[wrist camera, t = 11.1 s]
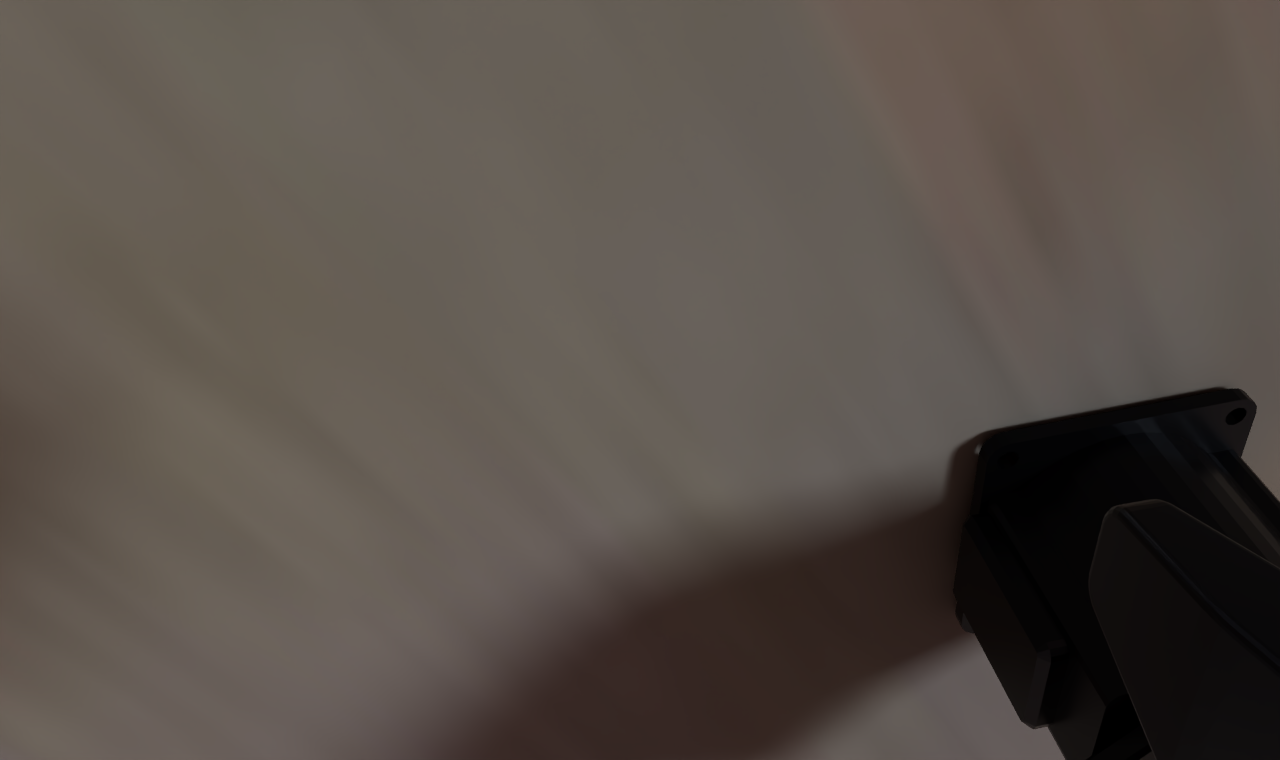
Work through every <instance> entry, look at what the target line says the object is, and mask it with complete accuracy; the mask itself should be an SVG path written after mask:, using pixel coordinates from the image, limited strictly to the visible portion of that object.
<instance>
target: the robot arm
mask: <svg viewBox="0 0 1280 760" xmlns="http://www.w3.org/2000/svg"><path fill="white" fill-rule="evenodd" d="M1256 409H1257V406H1256V404H1255V402H1254V401H1253V400H1252V399H1251V398H1250V397H1249V396H1248V395H1247V394H1246V393H1245V392H1244V391H1243V390H1241V389H1227V390H1222V391H1217V392H1212V393H1207V394H1201V395H1196V396H1191V397H1186V398H1180V399H1175V400H1170V401H1165V402H1159V403H1154V404H1149V405H1144V406H1138V407H1133V408H1128V409H1123V410H1117V411H1112V412H1107V413H1102V414H1096V415H1091V416H1086V417H1081V418H1075V419H1070V420H1065V421H1060V422H1054V423H1049V424H1044V425H1039V426H1033V427H1028V428H1023V429H1018V430H1012V431H1007V432H1002V433H999V434H996V435H994V436H993V437H991V438H990V439H988V440H987V441H986V442H985V443H984V444H983V446H982V447H981V450H980V452H979V458H978V465H977V472H976V478H975V485H974V491H973V498H972V505H971V511H970V515H969V516H968V518H967V519H966V521H965V523H964V525H963V528H962V534H961V541H960V548H959V555H958V562H957V569H956V575H955V582H954V589H953V592H954V595H955V597H956V599H957V604H956V611H955V612H956V617H957V619H958V621H959V623H960V625H961V627H962V628H963V629H964V630H965V631H966V632H969V633H975V635H976V637H977V639H978V641H979V643H980V645H981V647H982V648H983V650H984V652H985V654H986V656H987V658H988V660H989V662H990V664H991V665H992V667H993V669H994V671H995V673H996V675H997V677H998V679H999V681H1000V682H1001V684H1002V686H1003V688H1004V690H1005V692H1006V694H1007V696H1008V698H1009V699H1010V701H1011V703H1012V705H1013V707H1014V709H1015V711H1016V713H1017V715H1018V716H1019V718H1020V720H1021V721H1022V722H1023V723H1024V724H1026V725H1027V726H1029V727H1030V728H1032V729H1037V728H1042V727H1048V728H1049V730H1050V732H1051V734H1052V736H1053V738H1054V739H1055V741H1056V743H1057V745H1058V747H1059V749H1060V750H1061V752H1062V754H1063V756H1064V758H1065V760H1280V502H1279V500H1278V499H1277V498H1276V497H1275V496H1274V495H1273V494H1272V492H1271V491H1270V490H1269V489H1268V488H1267V487H1266V486H1265V484H1264V483H1263V482H1262V481H1261V480H1260V479H1259V478H1258V476H1257V475H1256V474H1255V473H1254V472H1253V471H1252V470H1251V468H1250V467H1249V466H1248V465H1247V464H1246V463H1245V462H1244V461H1243V459H1242V458H1241V456H1242V453H1243V450H1244V447H1245V444H1246V441H1247V438H1248V435H1249V432H1250V429H1251V426H1252V423H1253V420H1254V417H1255V414H1256ZM1005 453H1006V454H1005ZM1003 454H1005V455H1003ZM1002 455H1003V456H1002Z"/></svg>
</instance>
